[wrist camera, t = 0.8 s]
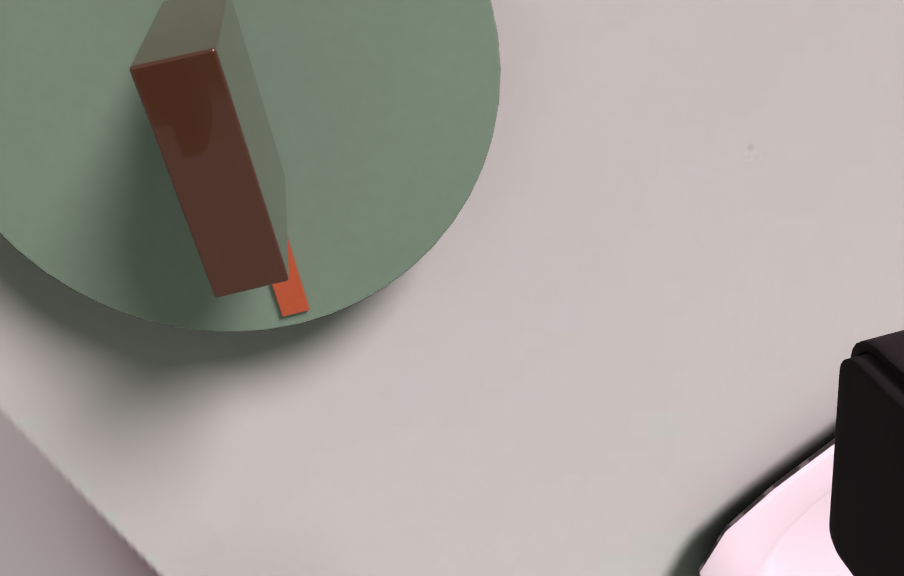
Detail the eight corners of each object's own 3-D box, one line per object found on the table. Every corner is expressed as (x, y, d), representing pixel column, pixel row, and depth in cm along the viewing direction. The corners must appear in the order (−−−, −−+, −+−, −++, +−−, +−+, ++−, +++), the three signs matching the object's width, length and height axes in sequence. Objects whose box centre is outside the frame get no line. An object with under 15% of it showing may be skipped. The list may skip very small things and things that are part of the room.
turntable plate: (-197, -160, 18) (-403, -137, 13) (443, -288, 19) (514, -319, 14) (67, 362, 26) (10, 525, 20) (523, 252, 27) (591, 376, 21)
